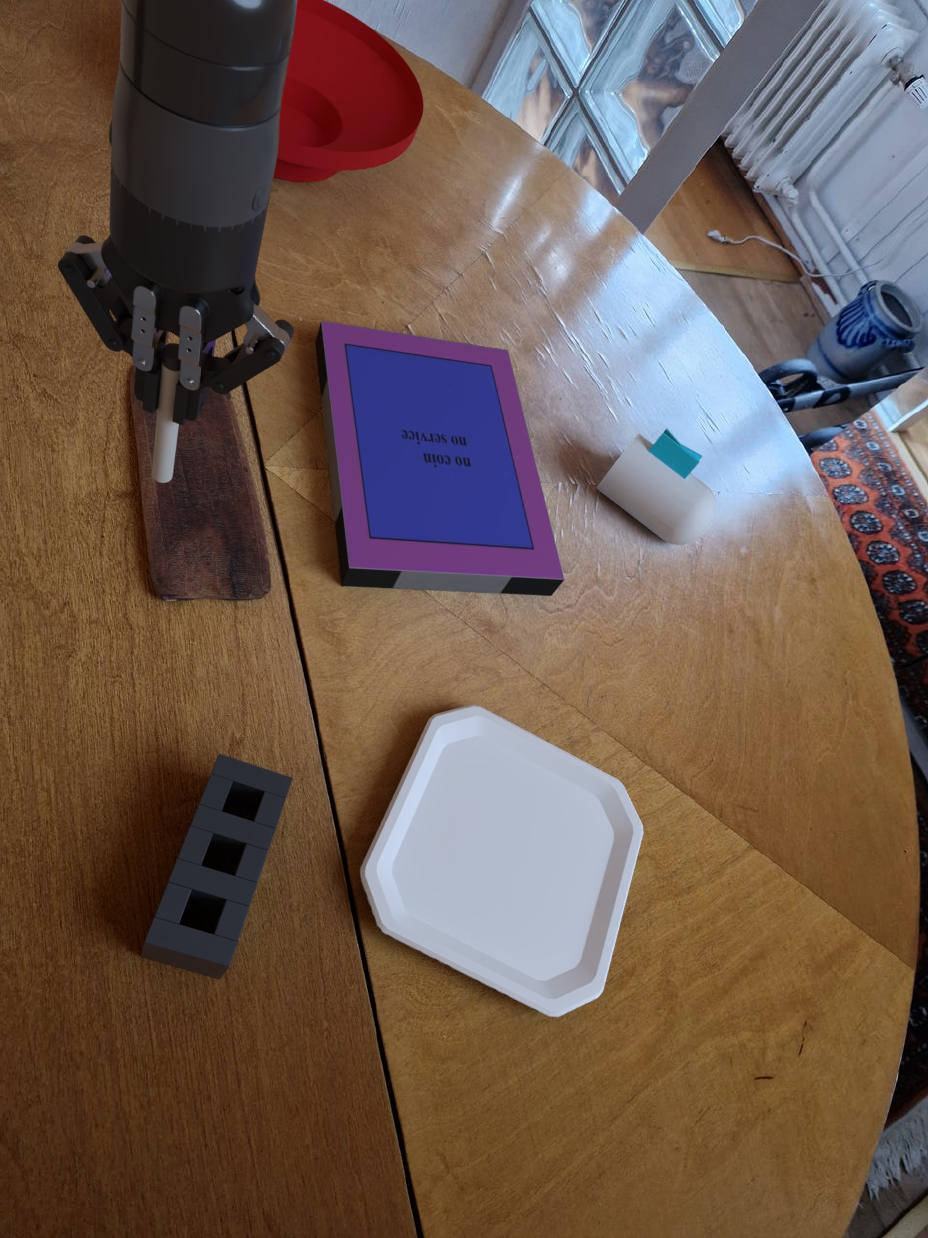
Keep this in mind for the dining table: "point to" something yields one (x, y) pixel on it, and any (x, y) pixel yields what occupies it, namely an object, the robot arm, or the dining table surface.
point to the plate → (505, 860)
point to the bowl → (343, 97)
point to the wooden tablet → (202, 508)
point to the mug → (661, 488)
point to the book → (431, 466)
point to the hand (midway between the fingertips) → (168, 408)
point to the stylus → (166, 416)
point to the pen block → (210, 886)
